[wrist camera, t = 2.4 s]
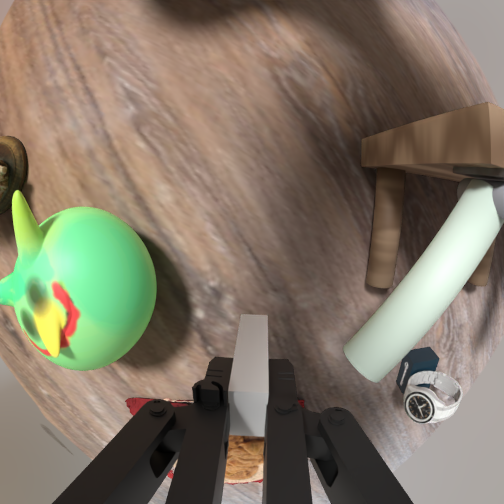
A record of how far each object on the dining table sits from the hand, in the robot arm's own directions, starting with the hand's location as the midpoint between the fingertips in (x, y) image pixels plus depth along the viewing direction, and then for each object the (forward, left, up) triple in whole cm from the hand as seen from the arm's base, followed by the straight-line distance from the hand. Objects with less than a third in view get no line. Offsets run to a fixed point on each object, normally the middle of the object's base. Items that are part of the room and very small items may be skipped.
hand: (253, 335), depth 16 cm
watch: (+15, +22, -16) cm, 31 cm away
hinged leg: (-5, +10, 0) cm, 11 cm away
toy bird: (+2, -19, -16) cm, 24 cm away
